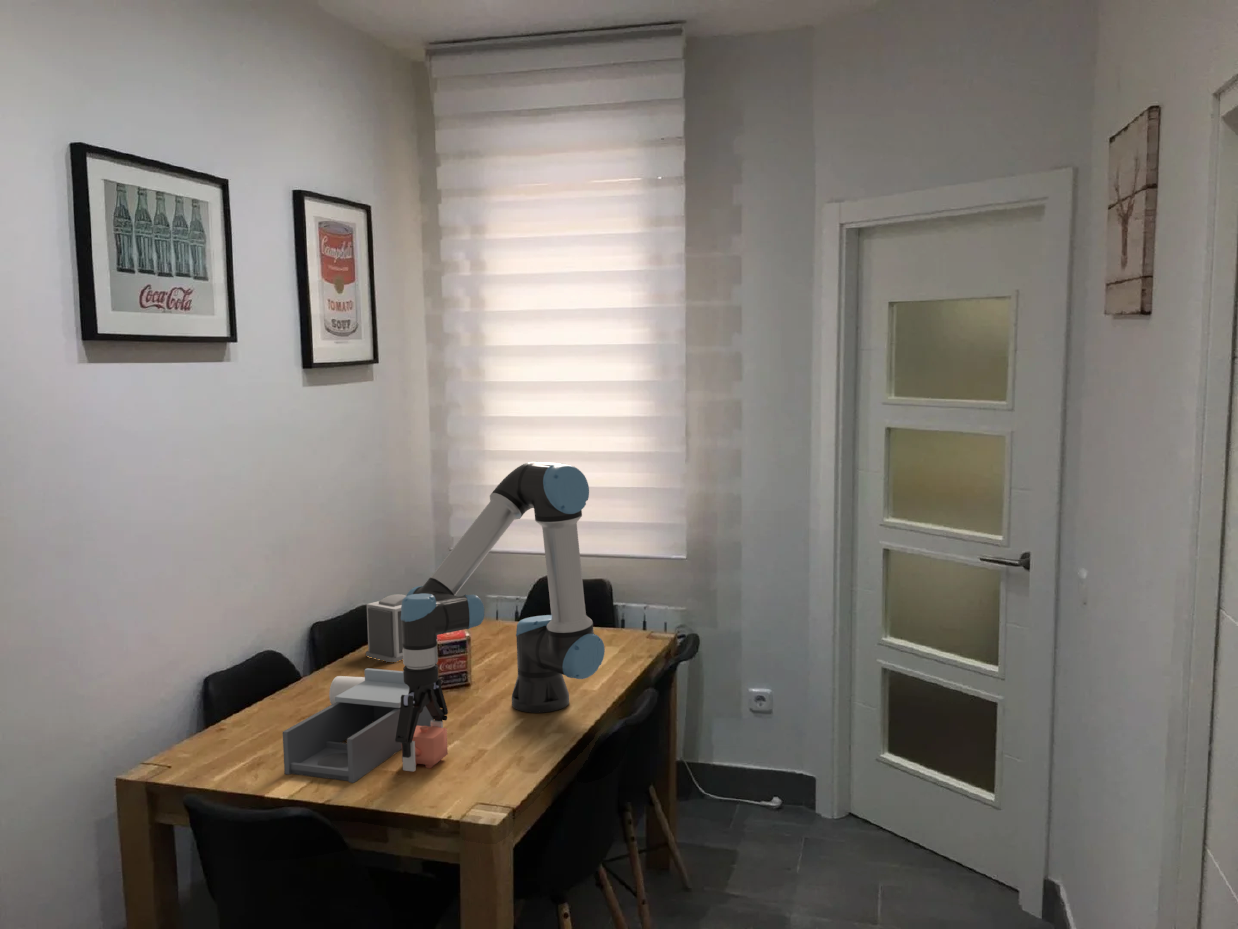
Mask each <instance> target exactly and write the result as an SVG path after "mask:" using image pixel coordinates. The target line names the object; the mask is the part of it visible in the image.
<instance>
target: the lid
mask: <svg viewBox="0 0 1238 929" xmlns="http://www.w3.org/2000/svg"><path fill="white" fill-rule="evenodd" d="M363 670H364V677H365V681H363V682H361V683H360V684H358V685H356V686H354V687H352V688H350V689H348V690H347V691H345V692H343V693H341V694H339V695H337V696H336V697H335V702H343V703H353V704H363V705H373V706H383V707H393V708H400V707H401V696H402V695H408V693H409V686H408V685H407V684H405V683H404V674H403V670H392V669H391V670H390V669H381V668H367V667H366V668H365V669H363Z"/></svg>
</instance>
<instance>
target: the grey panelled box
mask: <svg viewBox="0 0 1238 929" xmlns="http://www.w3.org/2000/svg"><path fill="white" fill-rule="evenodd" d="M406 595H407V594H401V593H400V594H397V593H396V594H390V595H387V596H386V597H384V598H382V599H380V600H378V601H374V602H370V603H366V621H367V622H366V623H367V644H368V645H367V647H368V649H367V651H365V657H366V656H369V657H372V658H376V659H380V660H384V661H386V662H385V663H387V662H397V661H399V660H402V659H403V652H402V650H403V643H402V621H401V606H402V600H403V598H405V597H406ZM397 663H398V662H397Z"/></svg>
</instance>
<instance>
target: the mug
mask: <svg viewBox="0 0 1238 929" xmlns="http://www.w3.org/2000/svg"><path fill="white" fill-rule="evenodd" d="M363 681H365V676H346V675H345V676H344V675H343V676H342V675H337V676H335V677H334V678H333V680H332V681H331V684H330V687H329V696H328V697H329V702H330V705H332V704H334V703H336V702H335V697H336V696H337V695H339V694H341V693H343V692H345V691H347V690H348V689H350V688H352V687H354V686H356V685H358V684H360V683H361V682H363Z"/></svg>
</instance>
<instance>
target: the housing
mask: <svg viewBox="0 0 1238 929" xmlns="http://www.w3.org/2000/svg"><path fill="white" fill-rule="evenodd" d="M413 707H414V706H413ZM400 708H401V707H400ZM400 708H393V707H383V706H373V705H363V704H353V703H343V702H336V703H334V704H330V705H328V706H326V707H325V708H323V709H320V710H319V711H317V712H316V713H314V714H312V715H310V716H309V717H307V718H305V719H303V720H301V721H299V722H297V723H296V724H294V725H293V726H290V727H289V728H287V729H285V730H283V731H282V747H283V748H282V750H283V765H284V766H283V768H284V771H283V772H284V774H285V775H298V776H306V777H314V778H323V779H328V780H329V779H331V780H338V781H346V782H348V783H352V784H353V783H356V782H357V781H358V780H360V779H362V778H363V777H364V776H366V775H367V774H369V773H370V772H371V771H373V770H374V769H375V768H377V767H378V766H380V765H381V764H382V763H384V762H386V760H388V759H389V758H391V757H392V756H394V755H395V754H397V753H398V752H399V751H402V743H400V742H396V741H395V738H396V732H397V726H398V720H399V714H400ZM432 720H434V719H433V718H432V717H431V715H430V713H429V711H428V709H427V707H426V706H425V707H424V708H423V711H422V712H421V713H420V715H419V718H418V722H417V726H429V727H431V721H432ZM344 741H346V742H344Z"/></svg>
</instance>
